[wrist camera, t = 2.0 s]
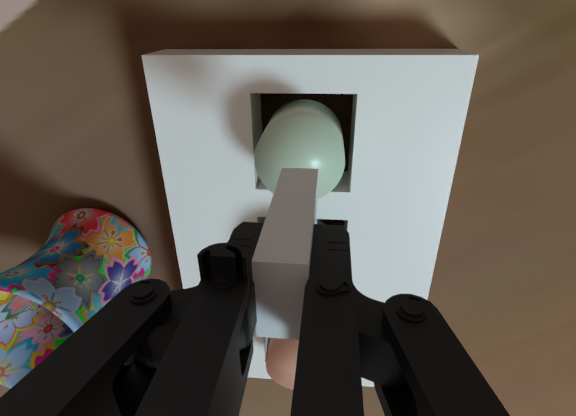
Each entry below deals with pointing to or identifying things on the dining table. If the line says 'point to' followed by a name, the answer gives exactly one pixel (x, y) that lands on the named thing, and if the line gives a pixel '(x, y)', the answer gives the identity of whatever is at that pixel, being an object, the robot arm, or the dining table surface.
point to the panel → (362, 152)
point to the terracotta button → (282, 361)
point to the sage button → (302, 144)
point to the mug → (65, 285)
